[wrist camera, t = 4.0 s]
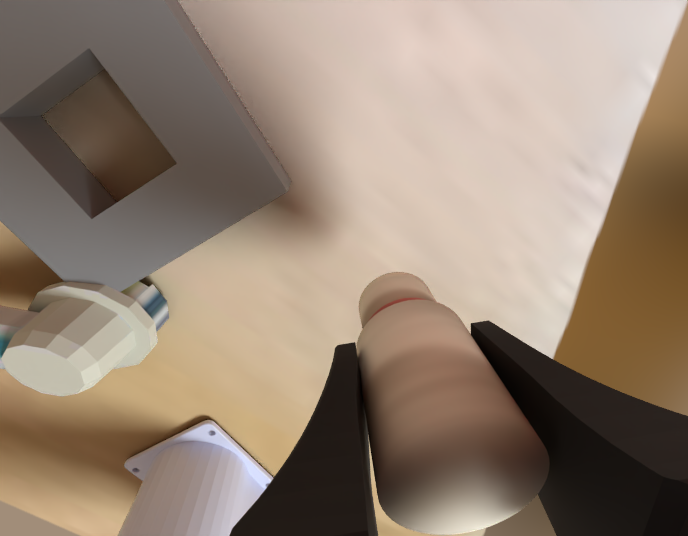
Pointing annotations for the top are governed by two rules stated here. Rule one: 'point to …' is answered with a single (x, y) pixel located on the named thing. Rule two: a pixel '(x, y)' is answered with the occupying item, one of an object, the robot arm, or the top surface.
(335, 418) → the robot arm
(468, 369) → the peg
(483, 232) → the top surface
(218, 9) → the top surface
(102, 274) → the board
